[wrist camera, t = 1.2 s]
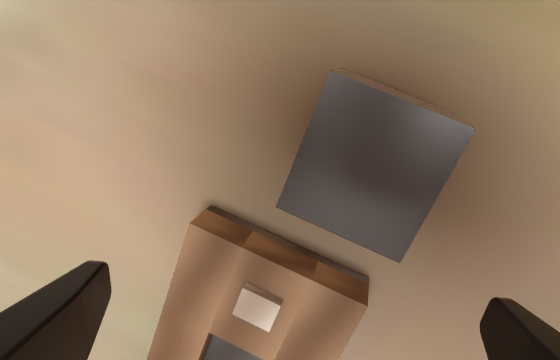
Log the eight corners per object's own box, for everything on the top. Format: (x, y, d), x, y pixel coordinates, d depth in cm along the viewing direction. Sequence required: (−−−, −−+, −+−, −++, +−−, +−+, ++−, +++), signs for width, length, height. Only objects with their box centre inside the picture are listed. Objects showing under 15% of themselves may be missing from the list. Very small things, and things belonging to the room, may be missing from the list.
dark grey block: (445, 107, 20) (475, 128, 14) (394, 204, 23) (399, 263, 16) (345, 67, 21) (330, 70, 15) (305, 166, 23) (275, 207, 17)
